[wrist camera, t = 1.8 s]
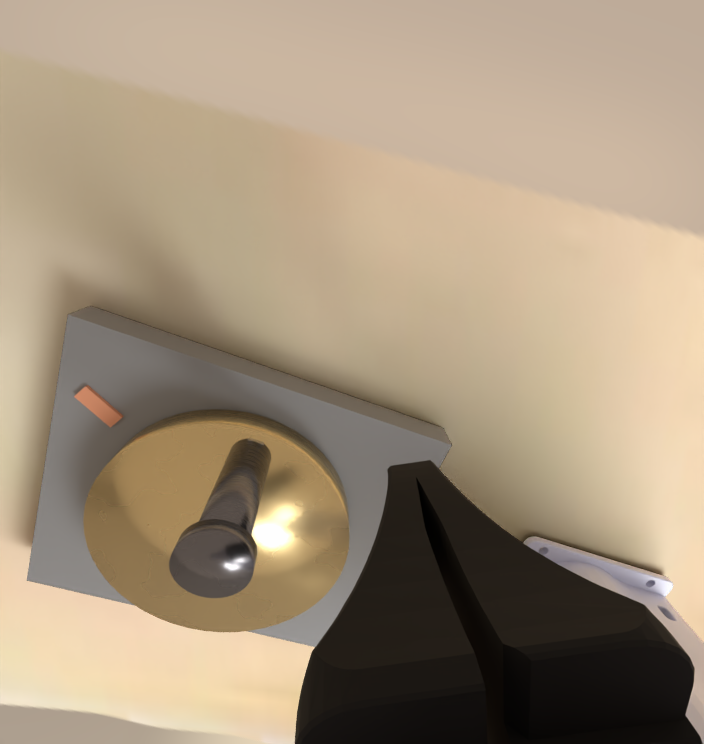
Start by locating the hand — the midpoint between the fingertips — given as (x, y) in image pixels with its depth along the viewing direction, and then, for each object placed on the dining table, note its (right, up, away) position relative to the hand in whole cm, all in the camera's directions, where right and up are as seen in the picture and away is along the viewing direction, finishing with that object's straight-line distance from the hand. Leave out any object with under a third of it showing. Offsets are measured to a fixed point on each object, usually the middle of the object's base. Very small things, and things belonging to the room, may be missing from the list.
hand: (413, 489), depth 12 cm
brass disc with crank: (-8, -3, +6) cm, 10 cm away
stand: (-8, -2, +8) cm, 11 cm away
